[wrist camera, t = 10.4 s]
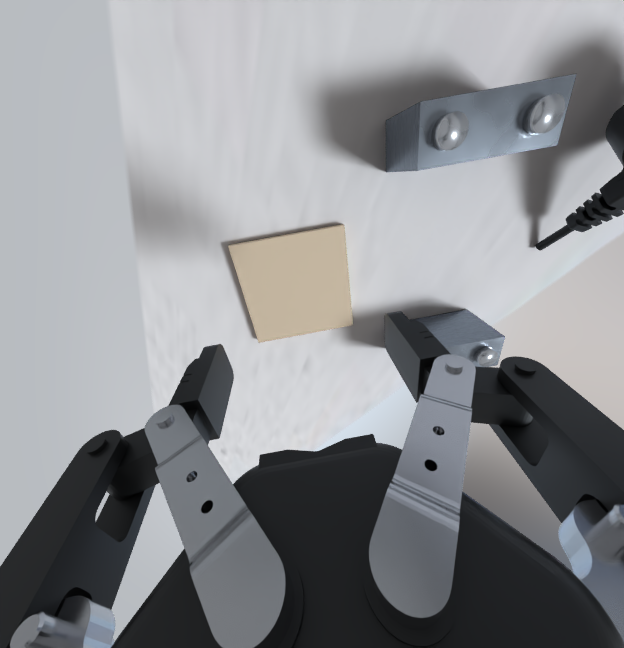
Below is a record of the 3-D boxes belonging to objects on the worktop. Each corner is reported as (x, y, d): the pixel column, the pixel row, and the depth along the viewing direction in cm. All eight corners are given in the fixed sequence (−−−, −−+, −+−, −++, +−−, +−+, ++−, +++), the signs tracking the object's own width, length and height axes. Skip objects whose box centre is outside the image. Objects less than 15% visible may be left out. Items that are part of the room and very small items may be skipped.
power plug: (514, 248, 22) (783, 67, 11) (494, 184, 25) (689, -7, 14) (566, 261, 23) (857, 108, 12) (541, 199, 26) (756, 32, 15)
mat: (229, 244, 20) (228, 246, 20) (342, 224, 20) (344, 225, 20) (259, 339, 25) (258, 342, 24) (351, 322, 25) (352, 325, 24)
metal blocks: (385, 120, 17) (426, 98, 12) (502, 99, 17) (589, 69, 12) (387, 348, 27) (410, 386, 22) (462, 334, 27) (502, 369, 22)
